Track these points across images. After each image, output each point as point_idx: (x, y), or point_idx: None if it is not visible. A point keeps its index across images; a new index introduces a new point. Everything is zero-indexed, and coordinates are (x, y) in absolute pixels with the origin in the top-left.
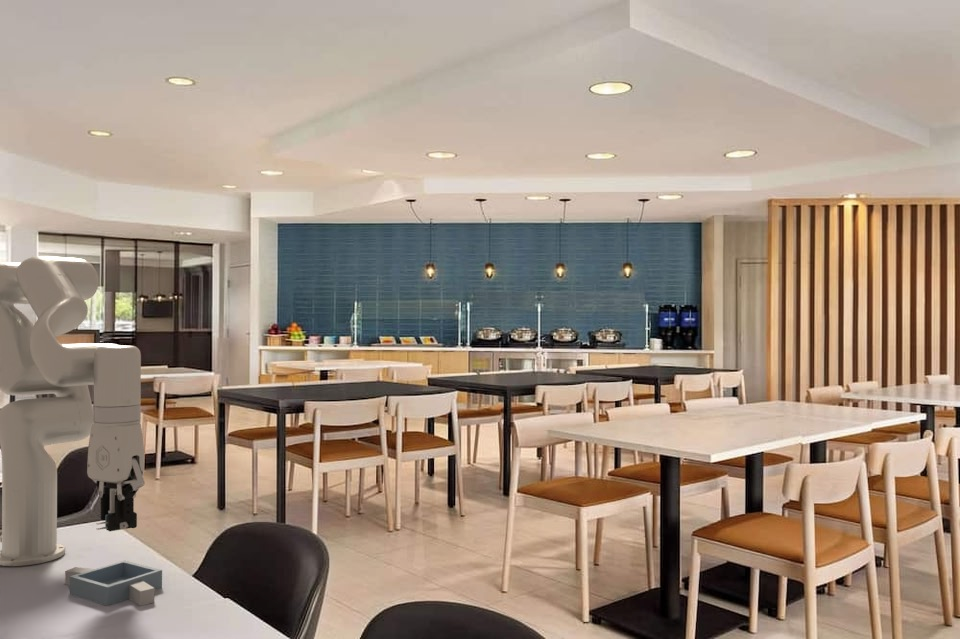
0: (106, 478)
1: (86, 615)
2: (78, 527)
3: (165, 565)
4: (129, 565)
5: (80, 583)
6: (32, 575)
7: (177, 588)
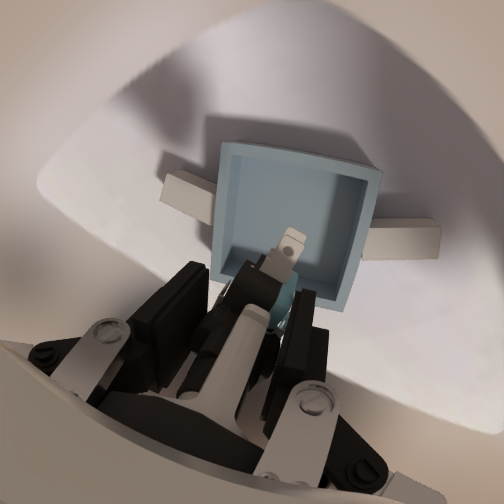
0: (54, 420)
1: (233, 87)
2: None
3: None
4: None
5: (335, 159)
6: None
7: None
